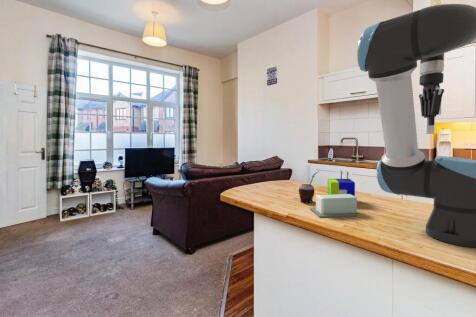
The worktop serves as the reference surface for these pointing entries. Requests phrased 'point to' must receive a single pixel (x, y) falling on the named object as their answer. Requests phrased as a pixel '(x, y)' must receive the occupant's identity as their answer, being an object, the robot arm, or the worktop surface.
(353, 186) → the puzzle toy
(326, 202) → the sage block
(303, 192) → the mate gourd
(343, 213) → the rubber mat
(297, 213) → the worktop surface
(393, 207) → the worktop surface
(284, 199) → the worktop surface
